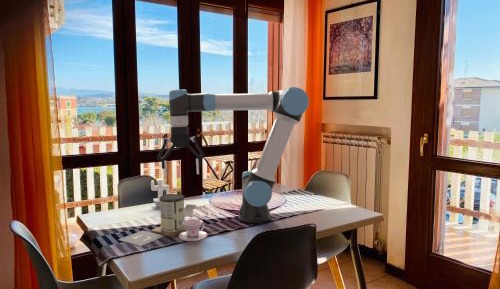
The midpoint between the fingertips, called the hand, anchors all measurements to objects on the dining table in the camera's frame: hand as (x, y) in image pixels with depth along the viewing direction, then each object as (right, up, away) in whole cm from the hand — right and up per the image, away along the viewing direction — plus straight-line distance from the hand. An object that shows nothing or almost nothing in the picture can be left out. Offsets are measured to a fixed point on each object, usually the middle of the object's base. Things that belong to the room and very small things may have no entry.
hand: (182, 175), depth 160 cm
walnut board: (-4, -24, +2) cm, 25 cm away
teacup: (+6, -25, -6) cm, 27 cm away
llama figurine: (-1, -23, +15) cm, 28 cm away
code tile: (-15, -25, -8) cm, 31 cm away
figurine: (-19, -20, +39) cm, 48 cm away
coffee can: (-4, -24, +1) cm, 24 cm away
